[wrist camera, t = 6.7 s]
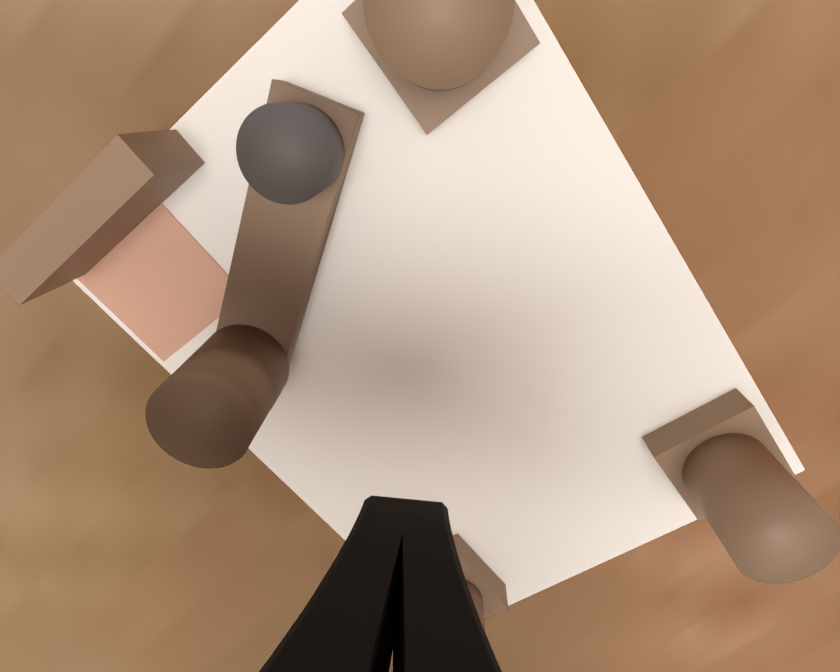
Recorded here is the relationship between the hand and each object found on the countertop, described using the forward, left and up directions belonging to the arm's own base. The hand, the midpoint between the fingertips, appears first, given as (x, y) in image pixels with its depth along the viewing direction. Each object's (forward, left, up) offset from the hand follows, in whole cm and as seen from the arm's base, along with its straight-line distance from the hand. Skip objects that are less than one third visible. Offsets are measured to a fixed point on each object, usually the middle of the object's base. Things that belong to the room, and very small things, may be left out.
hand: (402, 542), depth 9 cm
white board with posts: (0, -1, -8) cm, 8 cm away
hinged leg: (+5, +1, -7) cm, 8 cm away
